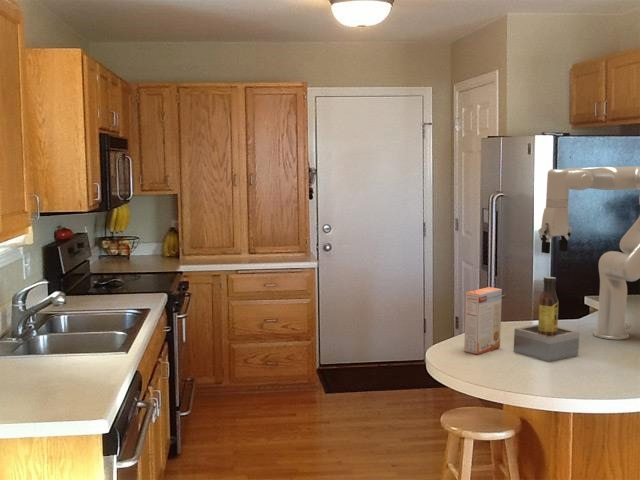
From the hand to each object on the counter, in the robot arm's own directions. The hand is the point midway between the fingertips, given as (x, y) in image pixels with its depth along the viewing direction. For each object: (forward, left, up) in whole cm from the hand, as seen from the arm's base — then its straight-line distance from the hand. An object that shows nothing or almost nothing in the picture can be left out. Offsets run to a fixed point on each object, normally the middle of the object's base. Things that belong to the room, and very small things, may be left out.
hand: (554, 252), depth 280 cm
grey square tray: (+15, +11, -32) cm, 37 cm away
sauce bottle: (+16, +11, -26) cm, 33 cm away
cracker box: (+31, -4, -32) cm, 45 cm away
